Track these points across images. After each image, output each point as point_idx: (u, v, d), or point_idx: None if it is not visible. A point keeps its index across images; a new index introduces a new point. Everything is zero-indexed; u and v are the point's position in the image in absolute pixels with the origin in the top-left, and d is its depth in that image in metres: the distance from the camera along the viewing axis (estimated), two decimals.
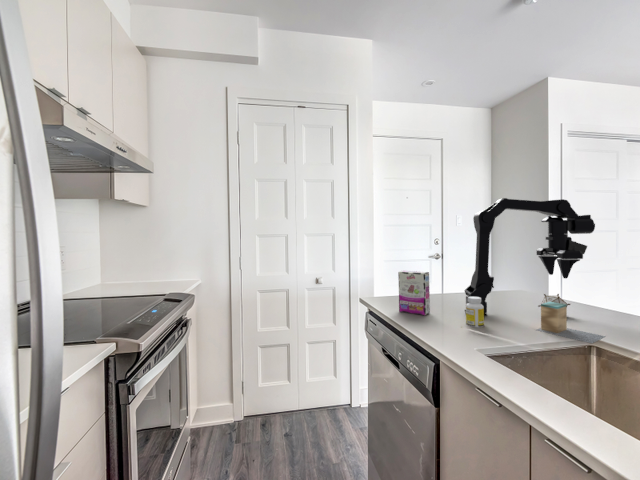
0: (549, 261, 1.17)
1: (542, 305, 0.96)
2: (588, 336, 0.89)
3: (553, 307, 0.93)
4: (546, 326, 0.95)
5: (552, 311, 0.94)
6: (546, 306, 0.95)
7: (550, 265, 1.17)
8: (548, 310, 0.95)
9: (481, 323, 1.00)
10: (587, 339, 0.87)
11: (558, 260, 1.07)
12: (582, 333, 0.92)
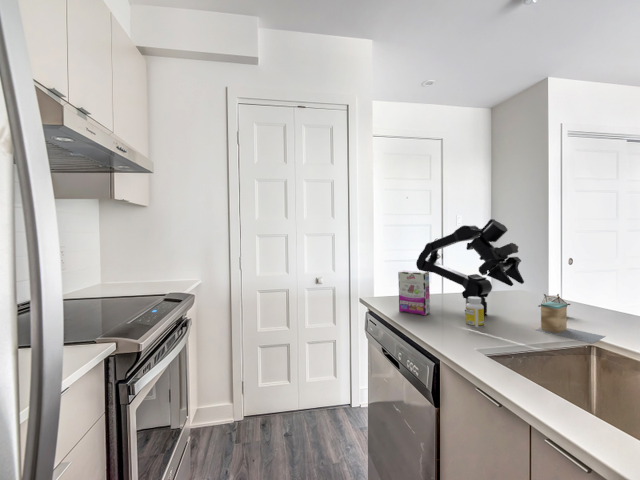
0: (511, 272, 1.10)
1: (542, 305, 0.96)
2: (588, 336, 0.89)
3: (553, 307, 0.93)
4: (546, 326, 0.95)
5: (552, 311, 0.94)
6: (546, 306, 0.95)
7: (515, 275, 1.09)
8: (548, 310, 0.95)
9: (481, 323, 1.00)
10: (587, 339, 0.87)
11: None
12: (582, 333, 0.92)
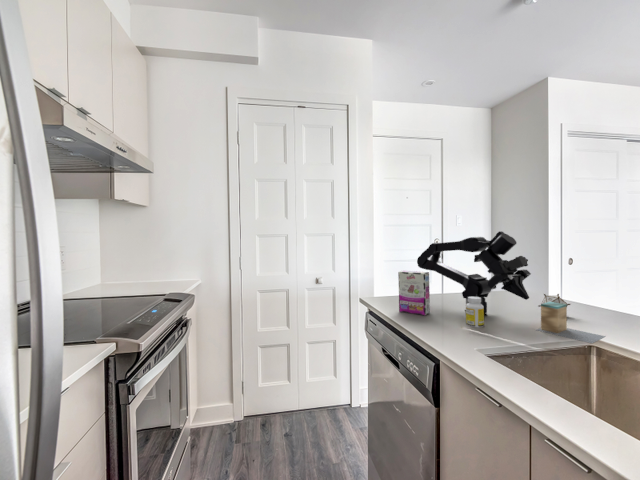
0: None
1: (542, 305, 0.96)
2: (588, 336, 0.89)
3: (553, 307, 0.93)
4: (546, 326, 0.95)
5: (552, 311, 0.94)
6: (546, 306, 0.95)
7: None
8: (548, 310, 0.95)
9: (481, 323, 1.00)
10: (587, 339, 0.87)
11: None
12: (582, 333, 0.92)
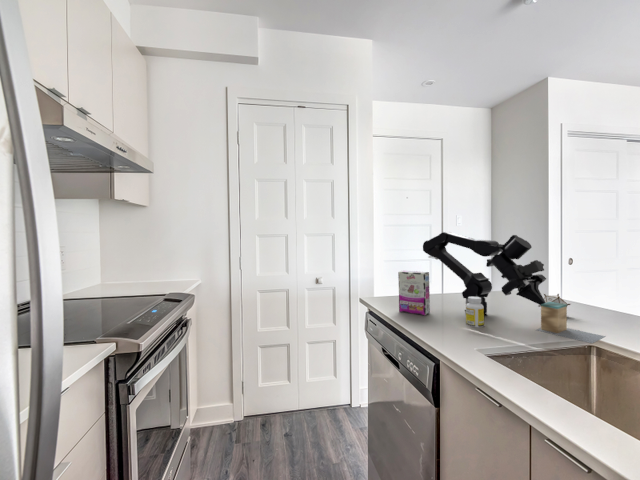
0: None
1: (542, 305, 0.96)
2: (588, 336, 0.89)
3: (553, 307, 0.93)
4: (546, 326, 0.95)
5: (552, 311, 0.94)
6: (546, 306, 0.95)
7: None
8: (548, 310, 0.95)
9: (481, 323, 1.00)
10: (587, 339, 0.87)
11: None
12: (582, 333, 0.92)
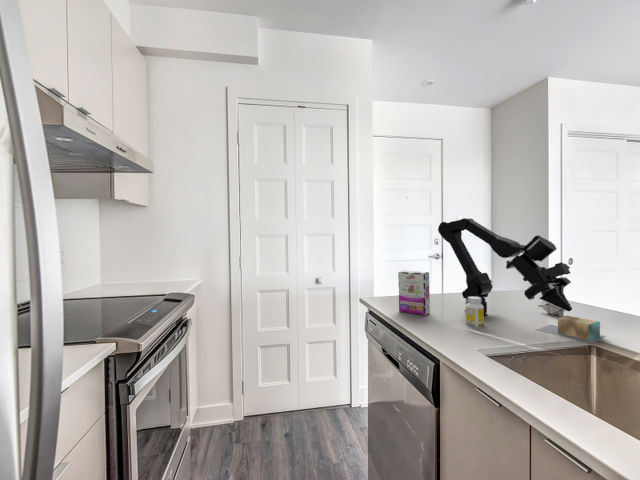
0: None
1: (590, 326, 0.86)
2: None
3: (590, 336, 0.86)
4: (563, 324, 0.91)
5: (584, 334, 0.87)
6: (589, 330, 0.86)
7: None
8: (584, 330, 0.87)
9: (481, 323, 1.00)
10: None
11: None
12: None
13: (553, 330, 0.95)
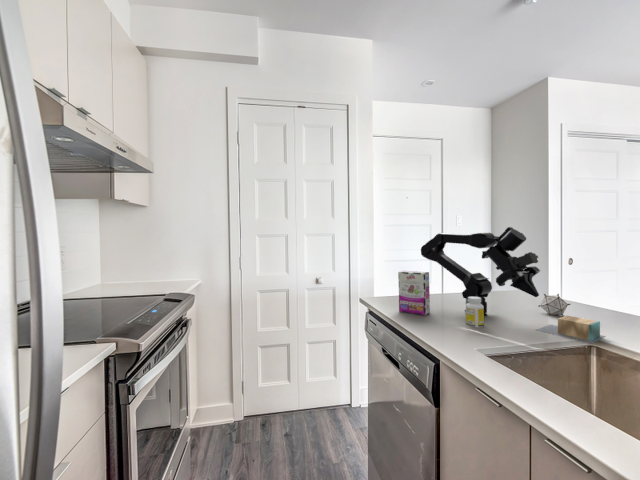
0: None
1: (590, 326, 0.86)
2: None
3: (590, 336, 0.86)
4: (563, 324, 0.91)
5: (584, 334, 0.87)
6: (589, 330, 0.86)
7: None
8: (584, 330, 0.87)
9: (481, 323, 1.00)
10: None
11: None
12: None
13: (553, 330, 0.95)
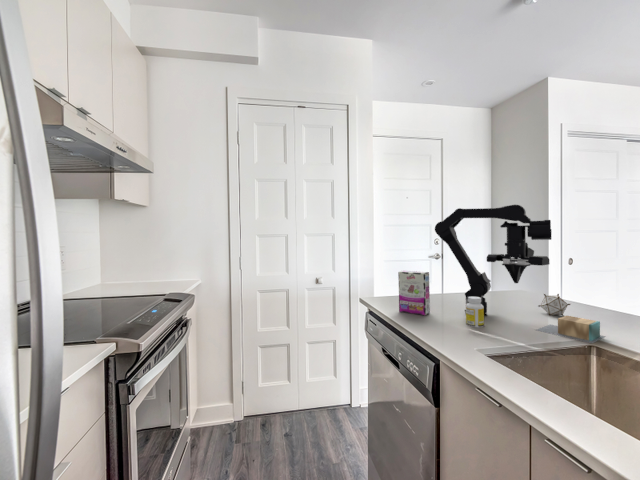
0: (514, 269, 1.10)
1: (590, 326, 0.86)
2: None
3: (590, 336, 0.86)
4: (563, 324, 0.91)
5: (584, 334, 0.87)
6: (589, 330, 0.86)
7: None
8: (584, 330, 0.87)
9: (481, 323, 1.00)
10: None
11: (516, 266, 1.07)
12: None
13: (553, 330, 0.95)
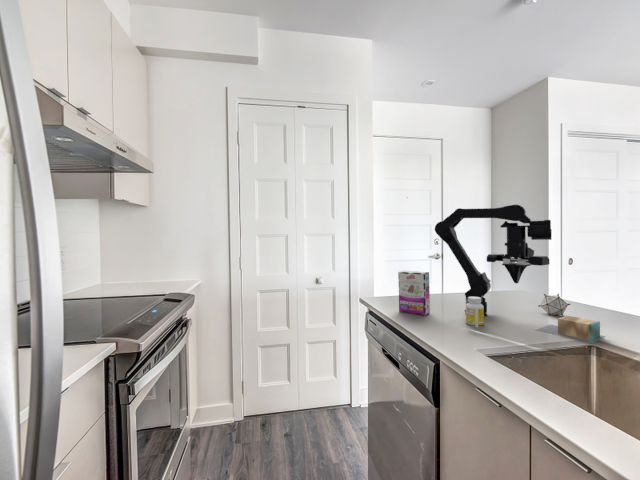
0: (514, 269, 1.10)
1: (590, 326, 0.86)
2: None
3: (590, 336, 0.86)
4: (563, 324, 0.91)
5: (584, 334, 0.87)
6: (589, 330, 0.86)
7: None
8: (584, 330, 0.87)
9: (481, 323, 1.00)
10: None
11: (516, 266, 1.07)
12: None
13: (553, 330, 0.95)
